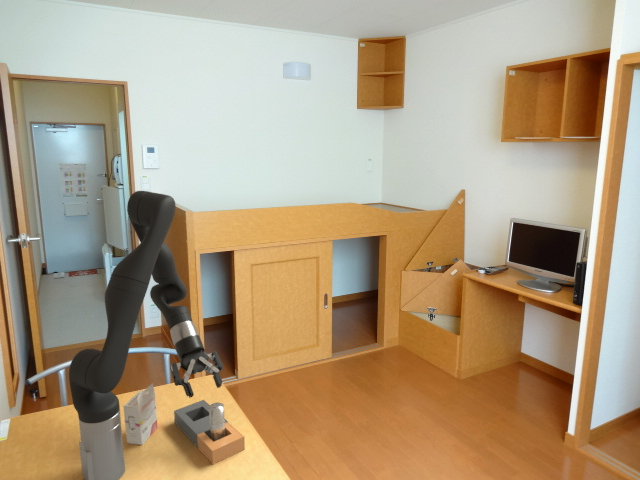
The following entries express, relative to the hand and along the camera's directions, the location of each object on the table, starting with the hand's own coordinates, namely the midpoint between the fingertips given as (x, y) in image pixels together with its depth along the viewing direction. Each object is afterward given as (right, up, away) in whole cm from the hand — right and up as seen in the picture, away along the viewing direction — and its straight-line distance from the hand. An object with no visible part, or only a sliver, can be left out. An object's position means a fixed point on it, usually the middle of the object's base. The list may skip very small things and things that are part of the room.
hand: (206, 391), depth 133 cm
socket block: (0, -14, +3) cm, 14 cm away
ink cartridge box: (-19, -14, +3) cm, 23 cm away
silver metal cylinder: (+4, -15, -2) cm, 15 cm away
